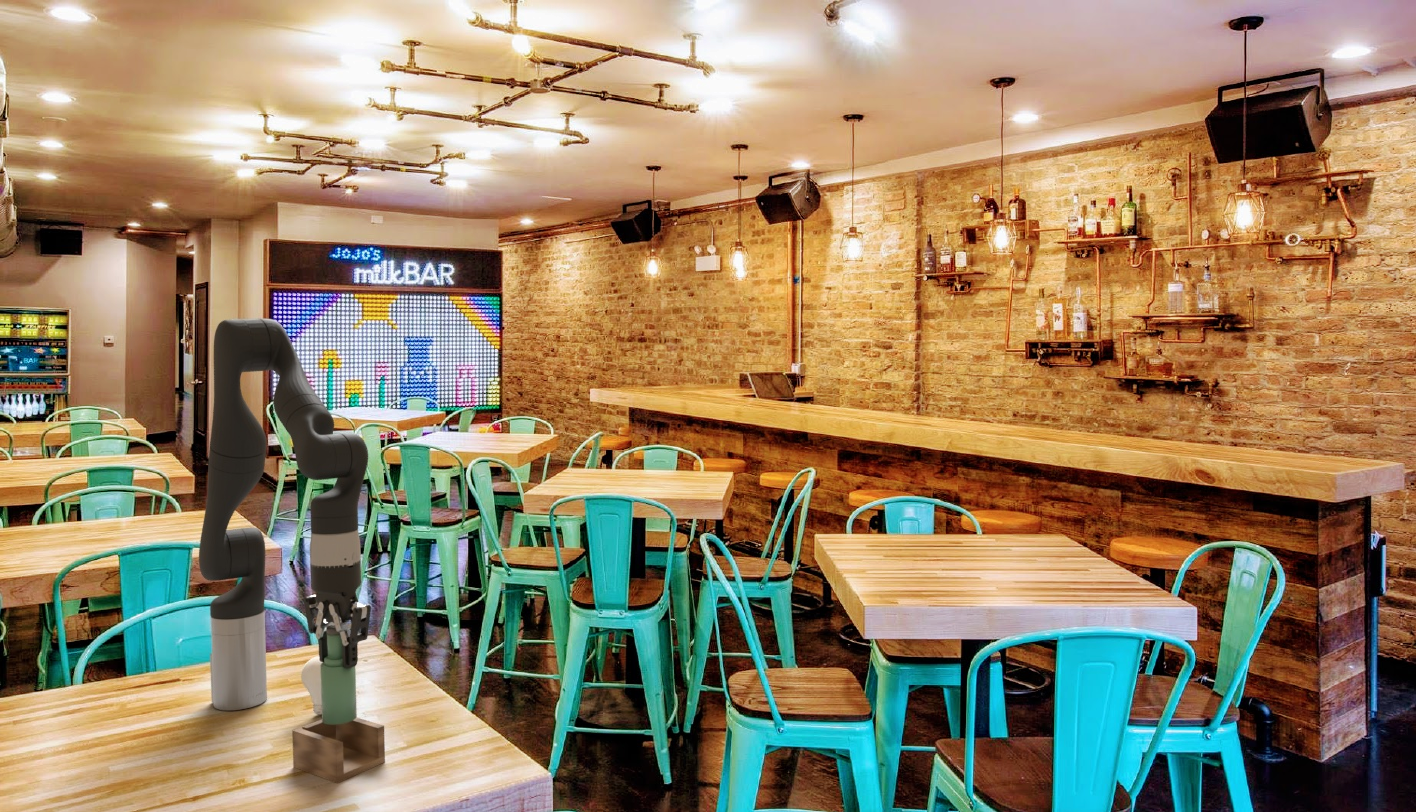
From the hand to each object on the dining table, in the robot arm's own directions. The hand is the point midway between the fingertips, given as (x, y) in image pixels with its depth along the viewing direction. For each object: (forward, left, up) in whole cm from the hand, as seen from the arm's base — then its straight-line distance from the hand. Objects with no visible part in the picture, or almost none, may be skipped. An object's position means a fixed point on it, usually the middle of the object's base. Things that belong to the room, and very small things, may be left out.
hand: (338, 663), depth 153 cm
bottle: (0, 0, -9) cm, 9 cm away
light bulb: (-21, +12, -17) cm, 30 cm away
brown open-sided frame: (0, 0, -17) cm, 17 cm away
